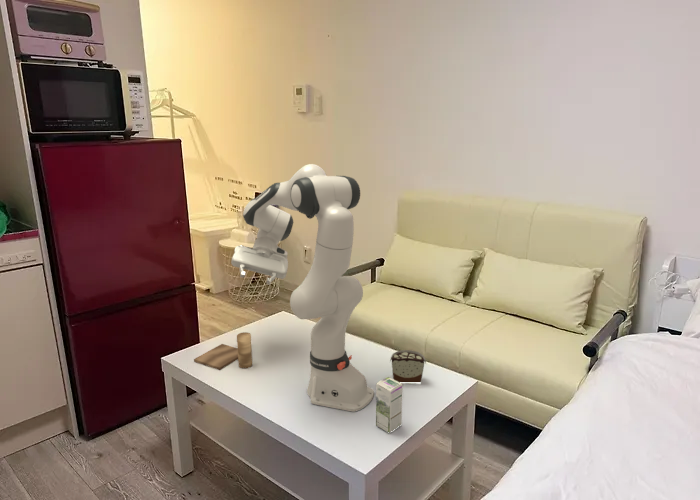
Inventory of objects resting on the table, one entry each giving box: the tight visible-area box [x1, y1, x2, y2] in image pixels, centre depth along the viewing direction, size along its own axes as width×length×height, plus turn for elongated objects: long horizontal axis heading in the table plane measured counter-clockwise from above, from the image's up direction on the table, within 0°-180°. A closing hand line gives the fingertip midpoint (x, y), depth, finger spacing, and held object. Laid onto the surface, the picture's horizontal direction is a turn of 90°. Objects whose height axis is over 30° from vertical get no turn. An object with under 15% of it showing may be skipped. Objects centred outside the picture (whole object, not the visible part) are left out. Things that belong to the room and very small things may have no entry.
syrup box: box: [375, 376, 404, 434], centre depth 149 cm, size 6×6×14 cm
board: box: [193, 343, 238, 371], centre depth 192 cm, size 13×15×1 cm
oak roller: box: [236, 332, 253, 369], centre depth 185 cm, size 5×5×12 cm
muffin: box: [389, 349, 427, 383], centre depth 176 cm, size 12×6×10 cm, turn 84°
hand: (255, 280), depth 178 cm, fingers open, 8 cm apart
